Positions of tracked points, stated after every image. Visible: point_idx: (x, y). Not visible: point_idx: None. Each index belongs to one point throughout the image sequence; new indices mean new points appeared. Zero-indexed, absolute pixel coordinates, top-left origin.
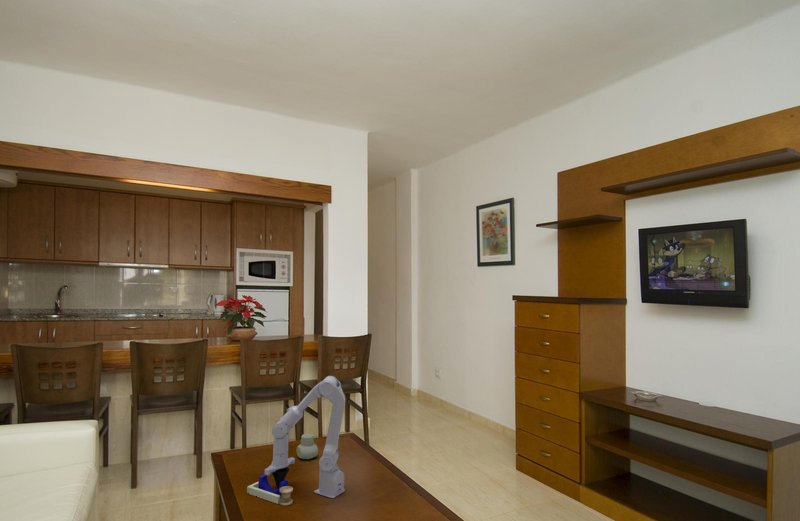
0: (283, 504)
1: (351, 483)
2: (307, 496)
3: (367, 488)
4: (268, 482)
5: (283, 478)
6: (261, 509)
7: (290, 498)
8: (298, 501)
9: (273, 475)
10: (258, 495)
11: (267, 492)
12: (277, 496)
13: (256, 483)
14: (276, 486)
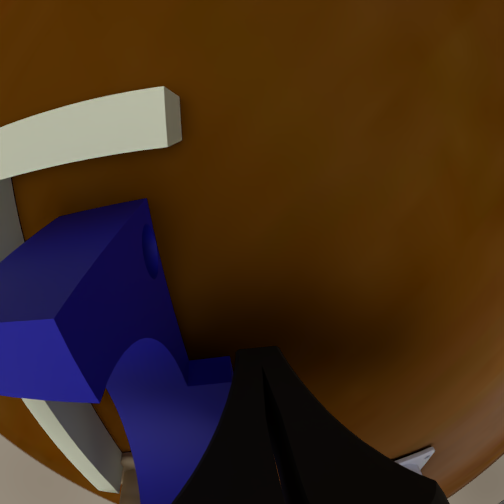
0: (122, 480)
1: (461, 455)
2: None
3: None
4: (145, 336)
5: (283, 486)
6: (10, 420)
7: None
8: None
9: (191, 484)
10: None
11: (52, 428)
12: (97, 487)
13: (29, 154)
14: (236, 359)
